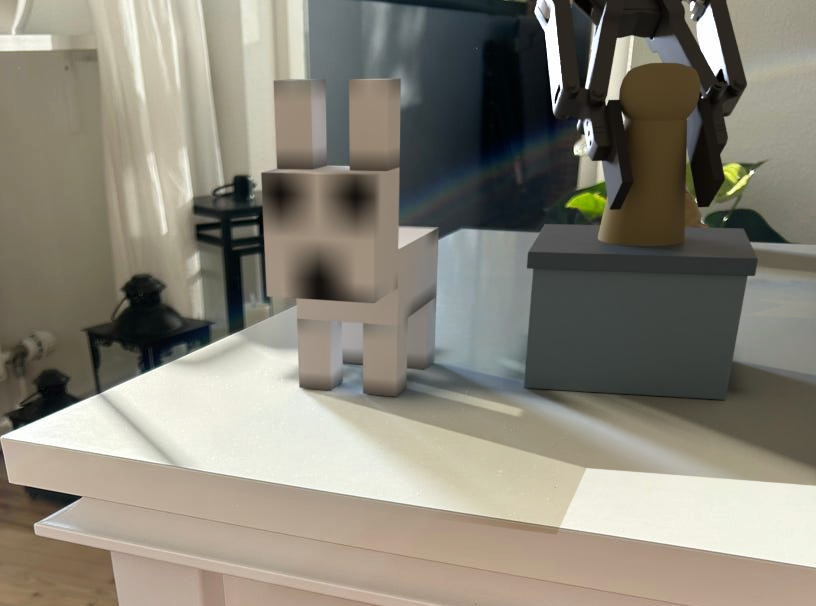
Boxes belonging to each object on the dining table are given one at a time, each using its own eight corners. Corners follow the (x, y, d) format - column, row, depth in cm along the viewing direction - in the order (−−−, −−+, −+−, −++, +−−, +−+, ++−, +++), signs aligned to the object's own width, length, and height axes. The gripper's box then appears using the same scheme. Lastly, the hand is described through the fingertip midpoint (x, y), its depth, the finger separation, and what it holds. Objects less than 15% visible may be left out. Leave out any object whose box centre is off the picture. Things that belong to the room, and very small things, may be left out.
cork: (647, 249, 70) (671, 64, 64) (579, 238, 74) (597, 64, 68) (702, 239, 73) (730, 62, 67) (634, 229, 77) (655, 61, 71)
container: (721, 355, 82) (744, 228, 77) (731, 402, 71) (758, 258, 66) (534, 345, 85) (544, 223, 80) (517, 389, 74) (527, 251, 70)
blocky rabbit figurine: (442, 353, 83) (453, 73, 73) (373, 417, 69) (374, 80, 59) (356, 346, 86) (354, 74, 76) (272, 407, 71) (256, 81, 61)
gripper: (720, -33, 78) (774, 227, 72) (482, -31, 77) (517, 234, 71) (764, -129, 71) (828, 151, 65) (503, -128, 70) (544, 158, 64)
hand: (666, 194), depth 68 cm, fingers open, 5 cm apart
